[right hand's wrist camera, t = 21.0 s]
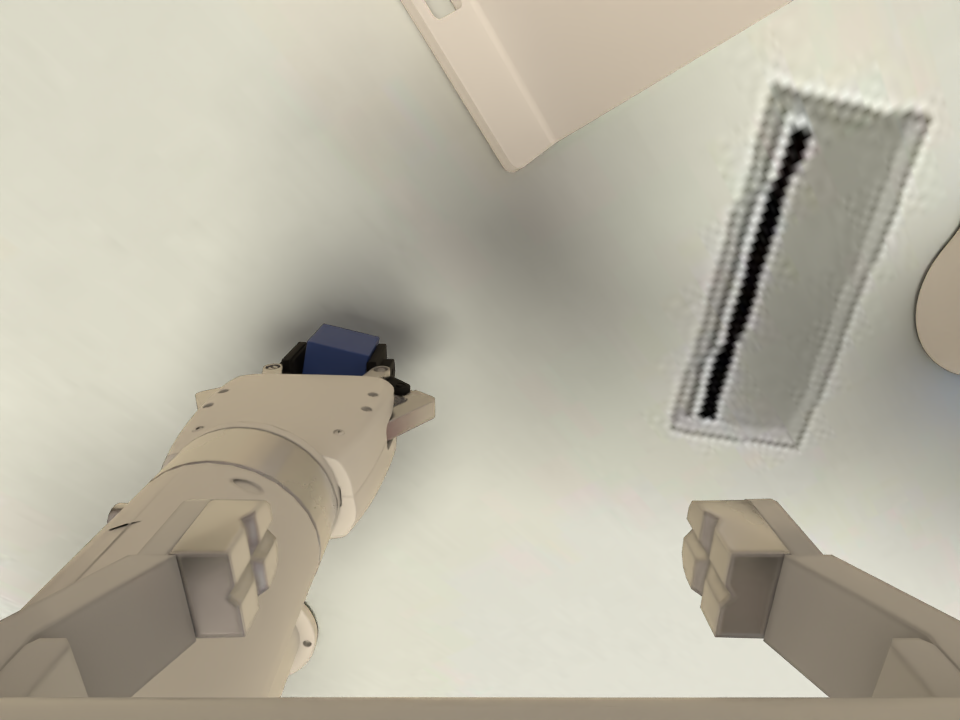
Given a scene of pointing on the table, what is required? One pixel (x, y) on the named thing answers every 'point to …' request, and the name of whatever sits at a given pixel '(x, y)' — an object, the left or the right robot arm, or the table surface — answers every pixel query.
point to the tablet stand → (568, 58)
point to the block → (338, 352)
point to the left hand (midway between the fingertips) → (344, 362)
